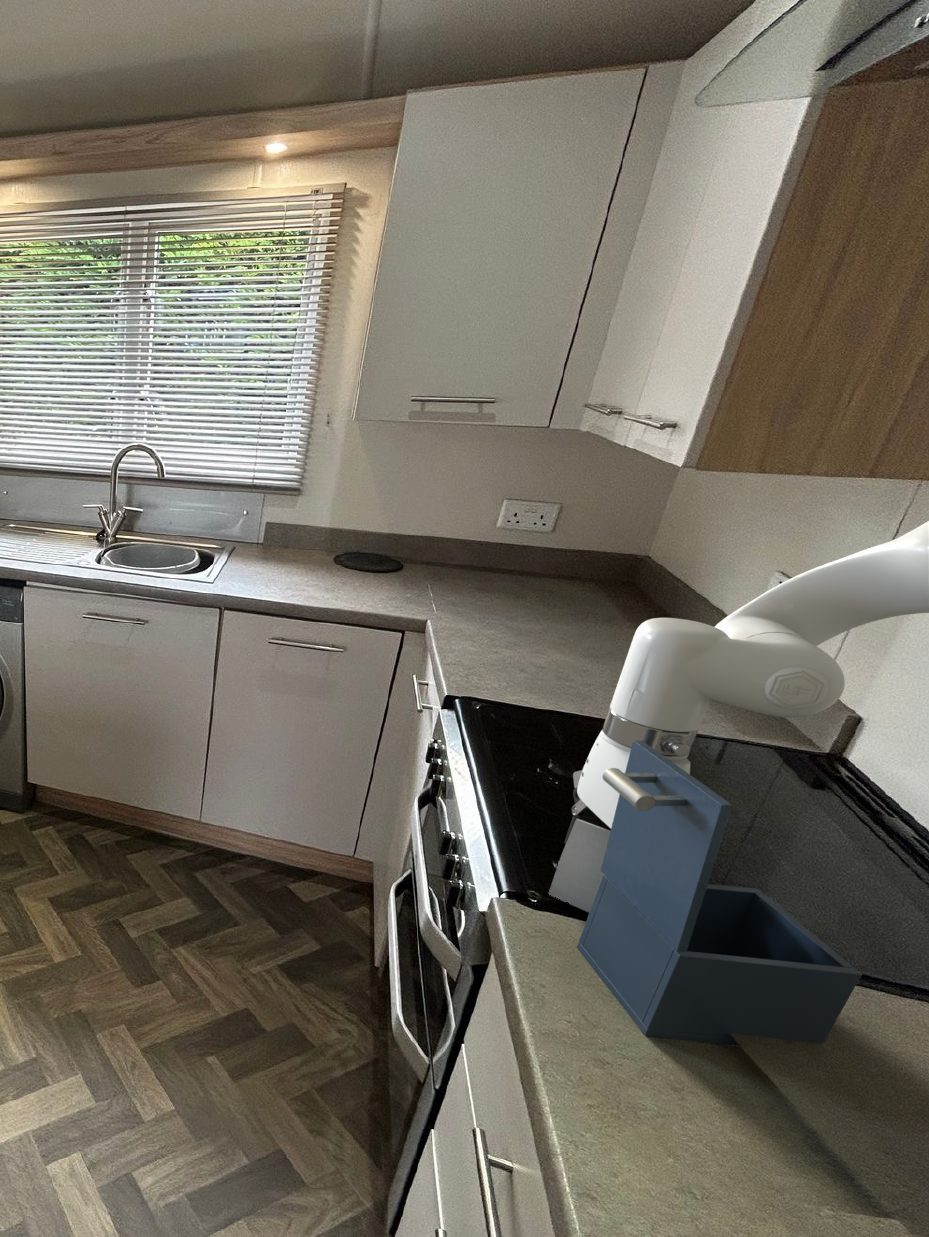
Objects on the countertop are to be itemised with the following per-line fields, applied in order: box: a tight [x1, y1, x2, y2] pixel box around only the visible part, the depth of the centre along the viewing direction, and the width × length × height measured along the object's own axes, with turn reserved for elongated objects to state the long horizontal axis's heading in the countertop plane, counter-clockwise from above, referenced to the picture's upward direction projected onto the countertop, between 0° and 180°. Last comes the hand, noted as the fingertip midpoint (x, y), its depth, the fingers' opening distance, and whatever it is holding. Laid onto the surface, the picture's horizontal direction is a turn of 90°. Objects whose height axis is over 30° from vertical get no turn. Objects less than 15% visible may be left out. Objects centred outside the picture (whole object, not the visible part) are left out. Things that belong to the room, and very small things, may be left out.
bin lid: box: [601, 740, 733, 952], centre depth 68 cm, size 15×12×5 cm
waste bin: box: [576, 875, 862, 1048], centre depth 71 cm, size 15×12×10 cm
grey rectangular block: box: [547, 819, 611, 914], centre depth 84 cm, size 4×7×10 cm, turn 41°
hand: (598, 865), depth 84 cm, fingers closed on grey rectangular block, 7 cm apart
